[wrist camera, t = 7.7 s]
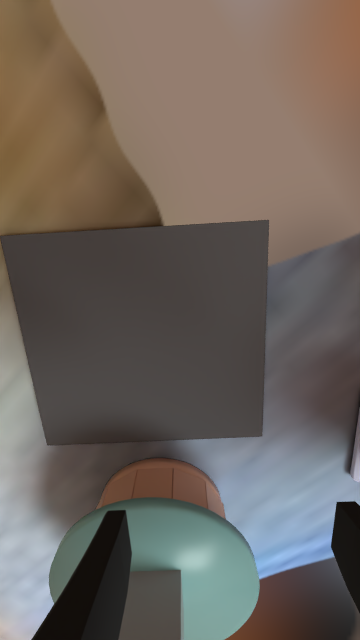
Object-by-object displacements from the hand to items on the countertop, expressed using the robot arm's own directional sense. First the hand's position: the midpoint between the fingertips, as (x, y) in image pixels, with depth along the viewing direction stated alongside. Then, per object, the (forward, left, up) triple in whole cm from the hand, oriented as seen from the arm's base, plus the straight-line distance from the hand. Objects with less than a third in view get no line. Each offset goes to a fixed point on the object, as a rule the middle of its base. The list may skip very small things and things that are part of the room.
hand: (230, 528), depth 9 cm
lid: (+4, +11, -5) cm, 13 cm away
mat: (+4, -3, -10) cm, 12 cm away
